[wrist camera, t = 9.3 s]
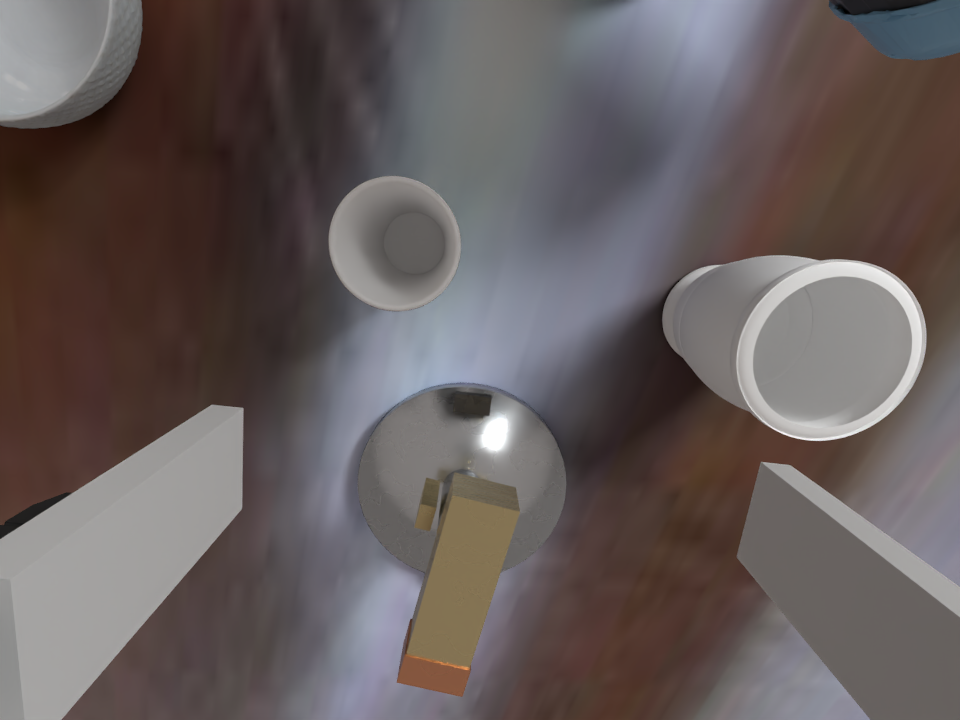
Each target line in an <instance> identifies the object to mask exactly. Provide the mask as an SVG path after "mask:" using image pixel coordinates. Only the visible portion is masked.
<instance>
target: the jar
mask: <svg viewBox="0 0 960 720" xmlns="http://www.w3.org/2000/svg"><path fill="white" fill-rule="evenodd" d="M662 325H663V331H664V334H665V337H666V339H667V341H668V343H669V345H670V346H671V347H672V349H673V350H674V351H675V352H676V353H677V354H678V355H680V356H681V357H683V359H684V360H685V361H686V363H687V364H688V365H689V366H690V367H691V369H692V370H693V371H694V372H695V374H696V375H697V376H698V377H699V378H700V379H701V381H702V382H703V383H704V384H705V385H706V386H708V387H709V388H710V389H711V390H712V391H713V392H715V393H716V394H717V395H719V396H720V397H722V398H723V399H725V400H727V401H728V402H730V403H732V404H734V405H736V406H738V407H740V408H742V409H744V410H747V411H749V412H751V413H752V414H753V415H754V416H755V417H756V418H757V419H758V420H760V421H761V422H762V423H764V424H765V425H767V426H768V427H770V428H772V429H774V430H776V431H778V432H780V433H782V434H785V435H787V436H790V437H794V438H798V439H803V440H812V441H824V440H833V439H839V438H843V437H847V436H850V435H853V434H856V433H858V432H860V431H863V430H865V429H867V428H869V427H871V426H872V425H874V424H876V423H877V422H879V421H880V420H882V419H883V418H884V417H886V416H887V415H888V414H889V413H890V412H891V411H893V410H894V409H895V408H896V407H897V406H898V405H899V403H900V402H901V401H902V400H903V399H904V398H905V396H906V395H907V394H908V392H909V391H910V389H911V388H912V386H913V384H914V382H915V381H916V379H917V377H918V374H919V372H920V369H921V367H922V363H923V360H924V356H925V350H926V325H925V320H924V316H923V313H922V310H921V307H920V305H919V303H918V301H917V299H916V297H915V296H914V294H913V293H912V292H911V290H910V289H909V288H908V287H907V286H906V284H905V283H904V282H902V281H901V280H900V279H899V278H898V277H896V276H895V275H894V274H892V273H890V272H889V271H887V270H885V269H883V268H881V267H878V266H876V265H873V264H869V263H865V262H860V261H852V260H824V261H818V260H814V259H809V258H803V257H796V256H762V257H755V258H749V259H745V260H741V261H737V262H732V263H728V264H724V265H712V266H706V267H703V268H700V269H697V270H695V271H693V272H691V273H689V274H688V275H686V276H685V277H683V278H682V279H681V280H680V281H679V282H678V283H677V284H676V285H675V286H674V288H673V289H672V290H671V292H670V293H669V295H668V297H667V299H666V302H665V305H664V308H663V314H662Z"/></svg>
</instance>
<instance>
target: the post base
mask: <svg viewBox="0 0 960 720" xmlns="http://www.w3.org/2000/svg"><path fill="white" fill-rule="evenodd" d="M454 472H456V473H460V474H464V475H468V476H472V477H476V478H480V479H484V480H488V481H492V482H496V483H500V484H504V485H508V486H512V487H516V491H517V497H518V503H519V509H520V514H519V517H518V520H517V523H516V526H515V529H514V532H513V535H512V538H511V541H510V544H509V548H508V551H507V554H506V557H505V560H504V563H503V566H502V569H501V572H503V571H505V570H508V569H510V568H512V567H514V566H516V565H517V564H519V563H521V562H522V561H524V560H526V559H527V558H528V557H529V556H531V555H532V554H533V553H534V552H536V551H537V550H538V548H539V547H540V546H541V545H542V544H543V543H544V542H545V541H546V540H547V538H548V537H549V536H550V534H551V533H552V531H553V529H554V528H555V526H556V524H557V522H558V520H559V517H560V515H561V512H562V509H563V505H564V501H565V495H566V471H565V466H564V461H563V458H562V455H561V452H560V449H559V447H558V444H557V442H556V440H555V438H554V436H553V434H552V432H551V430H550V429H549V427H548V426H547V424H546V423H545V422H544V420H543V419H542V418H541V417H540V416H539V415H538V414H537V413H536V412H535V411H534V410H533V409H532V408H531V407H530V406H528V405H527V404H526V403H525V402H523V401H522V400H520V399H518V398H517V397H515V396H514V395H512V394H509V393H507V392H505V391H503V390H501V389H497V388H494V387H491V386H488V385H482V384H476V383H448V384H442V385H438V386H433V387H430V388H427V389H424V390H422V391H419V392H417V393H415V394H413V395H411V396H409V397H407V398H406V399H404V400H403V401H401V402H400V403H399V404H397V405H396V406H395V407H394V408H393V409H391V410H390V411H389V412H388V413H387V414H386V415H385V416H384V418H383V419H382V420H381V421H380V422H379V424H378V425H377V427H376V428H375V430H374V432H373V433H372V435H371V437H370V439H369V441H368V443H367V445H366V447H365V449H364V452H363V455H362V458H361V462H360V466H359V473H358V494H359V500H360V505H361V508H362V511H363V515H364V517H365V519H366V521H367V523H368V526H369V527H370V529H371V530H372V532H373V534H374V535H375V537H376V538H377V539H378V540H379V541H380V543H381V544H382V545H383V546H384V547H385V548H386V549H387V550H388V551H389V552H390V553H391V554H392V555H394V556H395V557H396V558H398V559H399V560H401V561H402V562H403V563H405V564H407V565H409V566H411V567H413V568H414V569H417V570H419V571H422V572H424V573H426V569H427V566H428V562H429V559H430V555H431V552H432V548H433V545H434V541H435V538H436V534H437V529H438V526H439V524H440V520H441V517H442V513H443V510H444V506H445V503H446V499H447V496H448V492H449V489H450V485H451V482H452V479H453V475H454ZM426 478H430V479H434V480H438V481H440V487H439V494H438V501H437V508H436V512H435V515H434V519H433V522H432V526H431V529H430V531H426V530H422V529H418V528H414V527H415V522H416V517H417V512H418V507H419V503H420V498H421V494H422V491H423V487H424V484H425V480H426Z"/></svg>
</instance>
